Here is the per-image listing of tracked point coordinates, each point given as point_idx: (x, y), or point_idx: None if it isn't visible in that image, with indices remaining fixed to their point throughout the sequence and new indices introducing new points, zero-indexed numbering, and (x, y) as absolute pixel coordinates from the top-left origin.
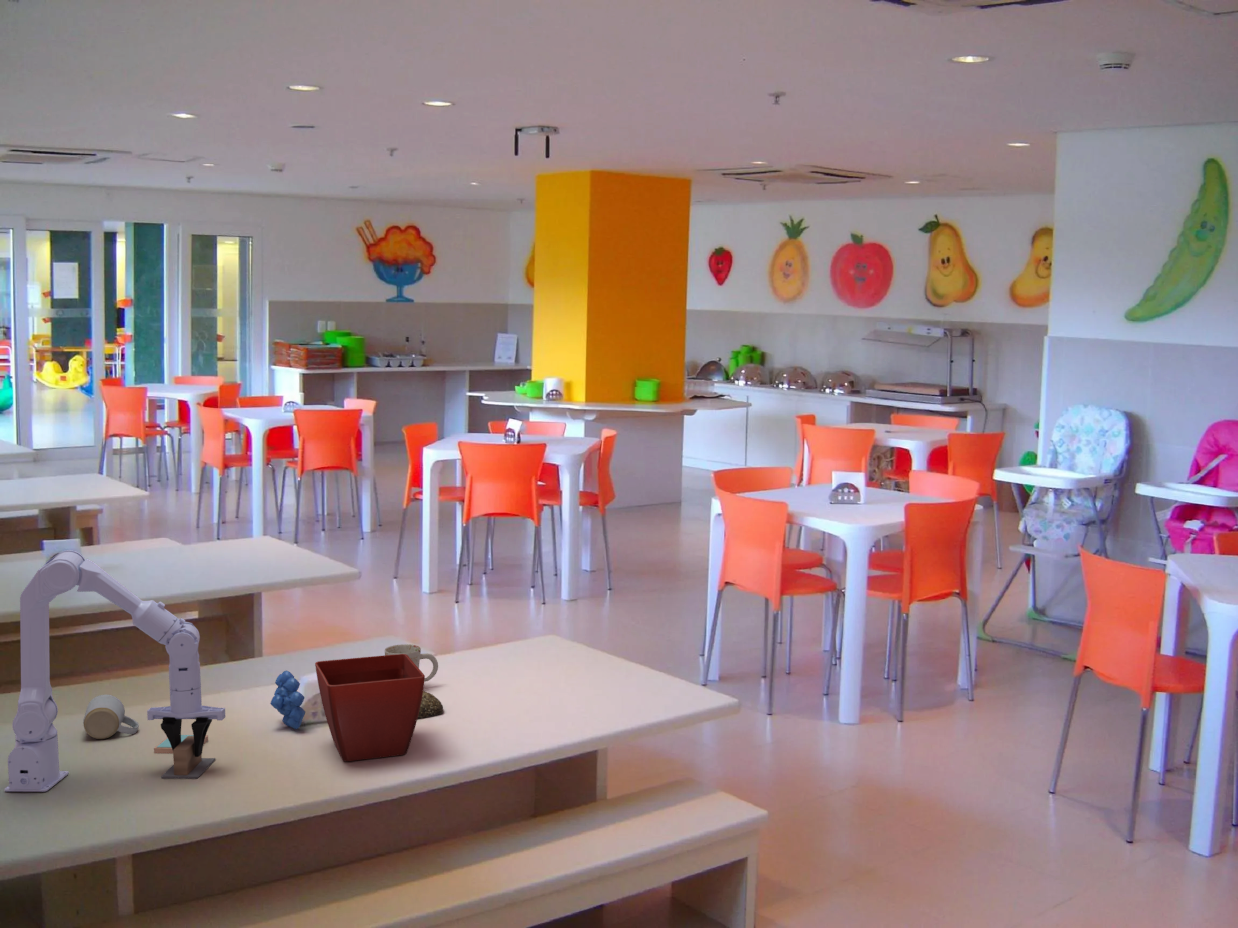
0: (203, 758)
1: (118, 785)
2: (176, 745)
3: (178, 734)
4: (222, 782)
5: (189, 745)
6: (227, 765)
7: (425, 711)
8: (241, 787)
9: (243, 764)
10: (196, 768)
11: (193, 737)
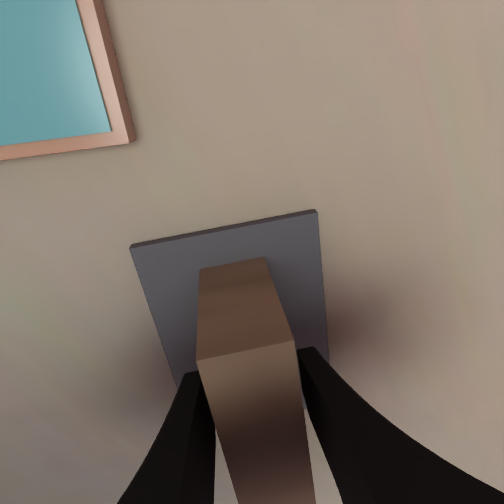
0: (257, 229)
1: (86, 499)
2: (211, 470)
3: (196, 500)
4: (428, 399)
5: (304, 475)
6: (397, 259)
7: None
8: (498, 413)
9: (465, 233)
10: None
11: (256, 375)
